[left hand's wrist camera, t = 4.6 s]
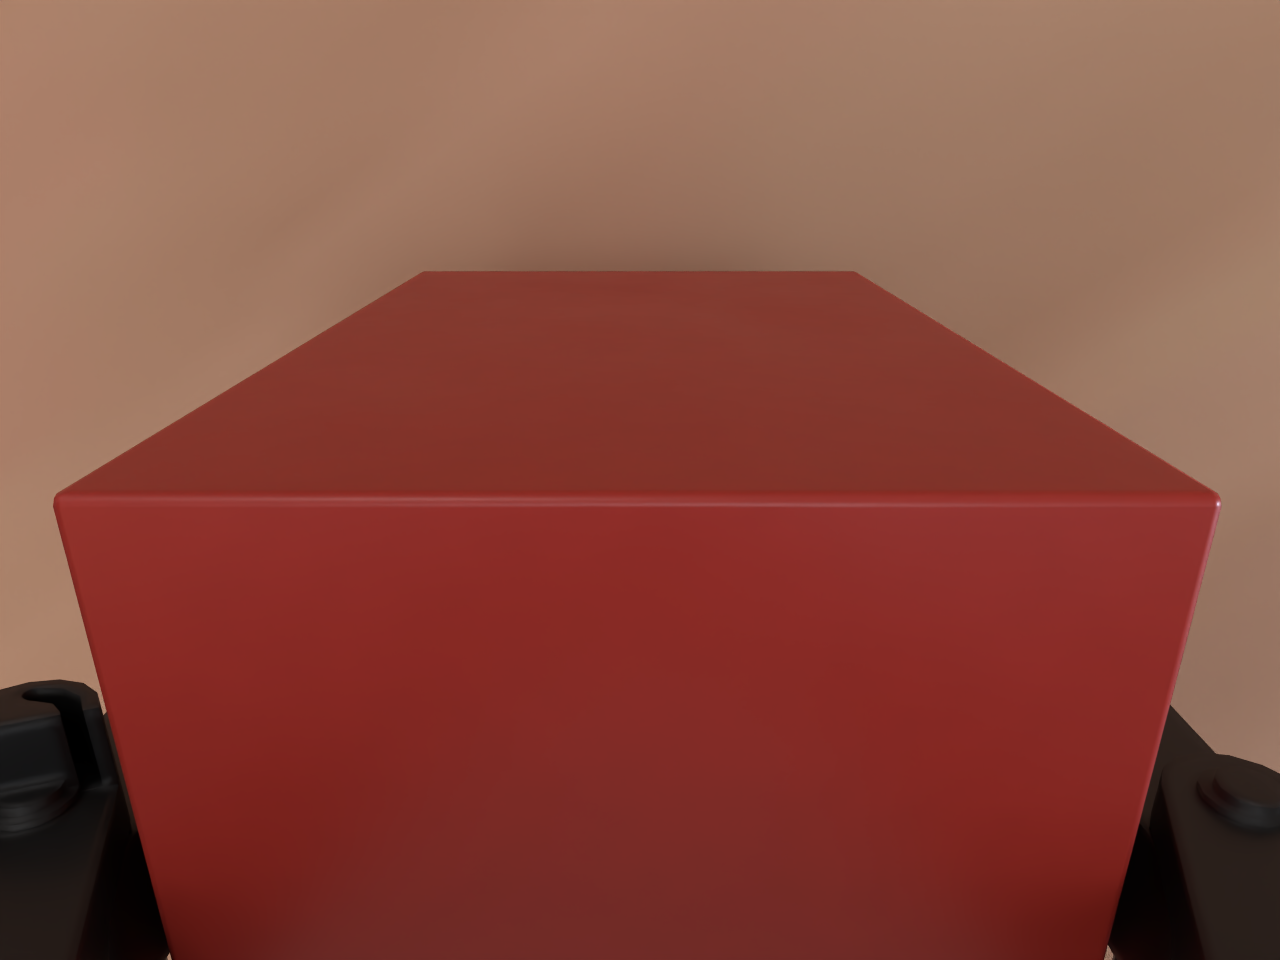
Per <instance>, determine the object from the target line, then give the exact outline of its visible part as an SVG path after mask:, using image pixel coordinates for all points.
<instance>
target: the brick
mask: <svg viewBox="0 0 1280 960" xmlns="http://www.w3.org/2000/svg"><path fill="white" fill-rule="evenodd" d="M53 508H54V512H55V515H56V519H57V523H58V527H59V531H60V535H61V538H62V542H63V546H64V550H65V554H66V557H67V561H68V565H69V569H70V573H71V577H72V580H73V584H74V588H75V592H76V596H77V600H78V603H79V607H80V611H81V615H82V619H83V622H84V626H85V630H86V634H87V638H88V642H89V645H90V649H91V653H92V657H93V661H94V664H95V668H96V672H97V676H98V680H99V684H100V687H101V691H102V695H103V699H104V703H105V707H106V710H107V714H108V718H109V722H110V726H111V729H112V733H113V737H114V741H115V745H116V749H117V752H118V756H119V760H120V764H121V768H122V771H123V775H124V779H125V783H126V787H127V791H128V794H129V798H130V802H131V806H132V810H133V814H134V817H135V821H136V825H137V829H138V833H139V836H140V840H141V844H142V848H143V852H144V856H145V859H146V863H147V867H148V871H149V875H150V878H151V882H152V886H153V890H154V894H155V898H156V901H157V905H158V909H159V913H160V917H161V921H162V924H163V928H164V932H165V936H166V940H167V943H168V947H169V951H170V955H171V959H172V960H1104V957H1105V953H1106V949H1107V946H1108V942H1109V938H1110V934H1111V930H1112V926H1113V922H1114V919H1115V915H1116V911H1117V907H1118V903H1119V899H1120V895H1121V892H1122V888H1123V884H1124V880H1125V876H1126V872H1127V868H1128V865H1129V861H1130V857H1131V853H1132V849H1133V845H1134V841H1135V838H1136V834H1137V830H1138V826H1139V822H1140V818H1141V814H1142V810H1143V807H1144V803H1145V799H1146V795H1147V791H1148V787H1149V783H1150V780H1151V776H1152V772H1153V768H1154V764H1155V760H1156V756H1157V753H1158V749H1159V745H1160V741H1161V737H1162V733H1163V729H1164V726H1165V722H1166V718H1167V714H1168V710H1169V706H1170V702H1171V699H1172V695H1173V691H1174V687H1175V683H1176V679H1177V675H1178V672H1179V668H1180V664H1181V660H1182V656H1183V652H1184V648H1185V645H1186V641H1187V637H1188V633H1189V629H1190V625H1191V621H1192V618H1193V614H1194V610H1195V606H1196V602H1197V598H1198V594H1199V591H1200V587H1201V583H1202V579H1203V575H1204V571H1205V567H1206V564H1207V560H1208V556H1209V552H1210V548H1211V544H1212V540H1213V537H1214V533H1215V529H1216V525H1217V521H1218V517H1219V513H1220V510H1221V500H1220V497H1219V495H1218V493H1216V492H1214V491H1213V490H1211V489H1210V488H1208V487H1206V486H1205V485H1203V484H1201V483H1200V482H1198V481H1196V480H1195V479H1193V478H1192V477H1190V476H1188V475H1187V474H1185V473H1183V472H1182V471H1180V470H1178V469H1177V468H1175V467H1174V466H1172V465H1170V464H1169V463H1167V462H1165V461H1164V460H1162V459H1160V458H1159V457H1157V456H1156V455H1154V454H1152V453H1151V452H1149V451H1147V450H1146V449H1144V448H1142V447H1141V446H1139V445H1138V444H1136V443H1134V442H1133V441H1131V440H1129V439H1128V438H1126V437H1124V436H1123V435H1121V434H1120V433H1118V432H1116V431H1115V430H1113V429H1111V428H1110V427H1108V426H1107V425H1105V424H1103V423H1102V422H1100V421H1098V420H1097V419H1095V418H1093V417H1092V416H1090V415H1089V414H1087V413H1085V412H1084V411H1082V410H1080V409H1079V408H1077V407H1075V406H1074V405H1072V404H1071V403H1069V402H1067V401H1066V400H1064V399H1062V398H1061V397H1059V396H1057V395H1056V394H1054V393H1053V392H1051V391H1049V390H1048V389H1046V388H1044V387H1043V386H1041V385H1039V384H1038V383H1036V382H1035V381H1033V380H1031V379H1030V378H1028V377H1026V376H1025V375H1023V374H1022V373H1020V372H1018V371H1017V370H1015V369H1013V368H1012V367H1010V366H1008V365H1007V364H1005V363H1004V362H1002V361H1000V360H999V359H997V358H995V357H994V356H992V355H990V354H989V353H987V352H986V351H984V350H982V349H981V348H979V347H977V346H976V345H974V344H972V343H971V342H969V341H968V340H966V339H964V338H963V337H961V336H959V335H958V334H956V333H954V332H953V331H951V330H950V329H948V328H946V327H945V326H943V325H941V324H940V323H938V322H936V321H935V320H933V319H932V318H930V317H928V316H927V315H925V314H923V313H922V312H920V311H919V310H917V309H915V308H914V307H912V306H910V305H909V304H907V303H905V302H904V301H902V300H901V299H899V298H897V297H896V296H894V295H892V294H891V293H889V292H887V291H886V290H884V289H883V288H881V287H879V286H878V285H876V284H874V283H873V282H871V281H869V280H868V279H866V278H865V277H863V276H861V275H860V274H858V273H856V272H854V271H424V272H422V273H420V274H418V275H417V276H415V277H413V278H412V279H410V280H408V281H407V282H405V283H403V284H402V285H400V286H398V287H397V288H395V289H393V290H392V291H390V292H389V293H387V294H385V295H384V296H382V297H380V298H379V299H377V300H375V301H374V302H372V303H370V304H369V305H367V306H365V307H364V308H362V309H360V310H359V311H357V312H356V313H354V314H352V315H351V316H349V317H347V318H346V319H344V320H342V321H341V322H339V323H337V324H336V325H334V326H332V327H331V328H329V329H327V330H326V331H324V332H323V333H321V334H319V335H318V336H316V337H314V338H313V339H311V340H309V341H308V342H306V343H304V344H303V345H301V346H299V347H298V348H296V349H294V350H293V351H291V352H290V353H288V354H286V355H285V356H283V357H281V358H280V359H278V360H276V361H275V362H273V363H271V364H270V365H268V366H266V367H265V368H263V369H261V370H260V371H258V372H257V373H255V374H253V375H252V376H250V377H248V378H247V379H245V380H243V381H242V382H240V383H238V384H237V385H235V386H233V387H232V388H230V389H228V390H227V391H225V392H223V393H222V394H220V395H219V396H217V397H215V398H214V399H212V400H210V401H209V402H207V403H205V404H204V405H202V406H200V407H199V408H197V409H195V410H194V411H192V412H190V413H189V414H187V415H186V416H184V417H182V418H181V419H179V420H177V421H176V422H174V423H172V424H171V425H169V426H167V427H166V428H164V429H162V430H161V431H159V432H157V433H156V434H154V435H153V436H151V437H149V438H148V439H146V440H144V441H143V442H141V443H139V444H138V445H136V446H134V447H133V448H131V449H129V450H128V451H126V452H124V453H123V454H121V455H120V456H118V457H116V458H115V459H113V460H111V461H110V462H108V463H106V464H105V465H103V466H101V467H100V468H98V469H96V470H95V471H93V472H91V473H90V474H88V475H87V476H85V477H83V478H82V479H80V480H78V481H77V482H75V483H73V484H72V485H70V486H68V487H67V488H65V489H63V490H62V491H60V492H58V493H57V494H56V496H55V498H54V504H53Z"/></svg>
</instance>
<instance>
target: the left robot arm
mask: <svg viewBox="0 0 1280 960" xmlns="http://www.w3.org/2000/svg"><path fill="white" fill-rule="evenodd" d="M1108 946H1109V947H1110V949H1111V951H1112V952H1113V954H1114V955H1113V959H1112V960H1280V774H1279V773H1277V772H1275V771H1273V770H1271V769H1269V768H1267V767H1265V766H1263V765H1260V764H1257V763H1254V762H1250V761H1247V760H1243V759H1240V758H1237V757H1233V756H1230V755H1221V754H1216V753H1215V752H1214V751H1213V750H1212V749H1211V748H1210V747H1209V746H1208V745H1207V744H1206V743H1205V742H1204V741H1203V739H1202V738H1201V737H1200V736H1199V735H1198V734H1197V733H1196V732H1195V731H1194V730H1193V729H1192V728H1191V727H1190V726H1189V725H1188V723H1187V722H1186V721H1185V720H1184V719H1183V718H1182V717H1181V716H1180V715H1179V714H1178V713H1177V712H1176V711H1175V710H1174V709H1173V707H1172V706H1171V705H1170V706H1169V710H1168V714H1167V718H1166V722H1165V726H1164V729H1163V733H1162V737H1161V741H1160V745H1159V749H1158V753H1157V756H1156V760H1155V764H1154V768H1153V772H1152V776H1151V780H1150V783H1149V787H1148V791H1147V795H1146V799H1145V803H1144V807H1143V810H1142V814H1141V818H1140V822H1139V826H1138V830H1137V834H1136V838H1135V841H1134V845H1133V849H1132V853H1131V857H1130V861H1129V865H1128V868H1127V872H1126V876H1125V880H1124V884H1123V888H1122V892H1121V895H1120V899H1119V903H1118V907H1117V911H1116V915H1115V919H1114V922H1113V926H1112V930H1111V934H1110V938H1109V942H1108ZM169 953H170V951H169V947H168V943H167V940H166V936H165V932H164V928H163V924H162V921H161V917H160V913H159V909H158V905H157V901H156V898H155V894H154V890H153V886H152V882H151V878H150V875H149V871H148V867H147V863H146V859H145V856H144V852H143V848H142V844H141V840H140V836H139V833H138V829H137V825H136V821H135V817H134V814H133V810H132V806H131V802H130V798H129V794H128V791H127V787H126V783H125V779H124V775H123V771H122V768H121V764H120V760H119V756H118V752H117V749H116V745H115V741H114V737H113V733H112V729H111V726H110V722H109V718H108V714H107V712H106V713H105V714H104V715H103V713H102V709H101V705H100V701H99V697H98V694H97V692H96V691H94V690H93V689H91V688H90V687H88V686H87V685H86V684H84V683H80V682H73V681H66V680H49V681H38V682H28V683H24V684H20V685H17V686H13V687H9V688H5V689H1V690H0V960H168V959H167V956H168V954H169Z"/></svg>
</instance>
